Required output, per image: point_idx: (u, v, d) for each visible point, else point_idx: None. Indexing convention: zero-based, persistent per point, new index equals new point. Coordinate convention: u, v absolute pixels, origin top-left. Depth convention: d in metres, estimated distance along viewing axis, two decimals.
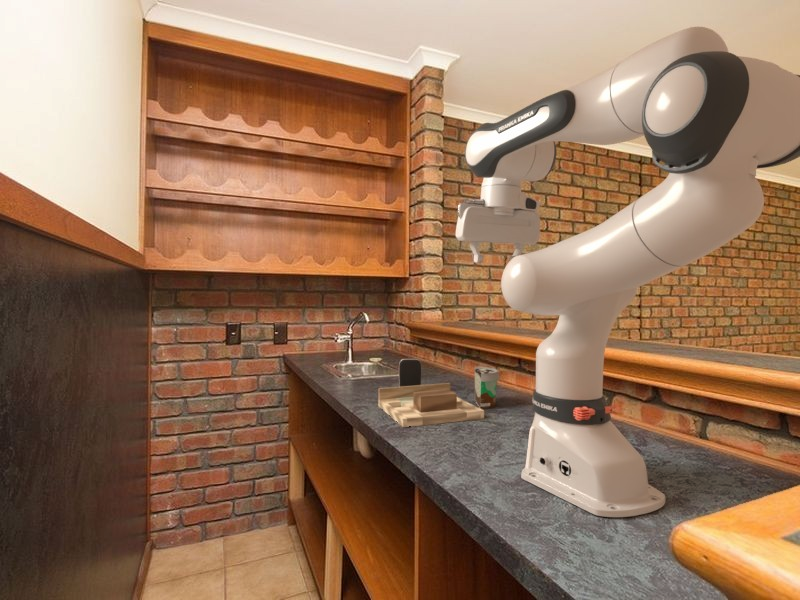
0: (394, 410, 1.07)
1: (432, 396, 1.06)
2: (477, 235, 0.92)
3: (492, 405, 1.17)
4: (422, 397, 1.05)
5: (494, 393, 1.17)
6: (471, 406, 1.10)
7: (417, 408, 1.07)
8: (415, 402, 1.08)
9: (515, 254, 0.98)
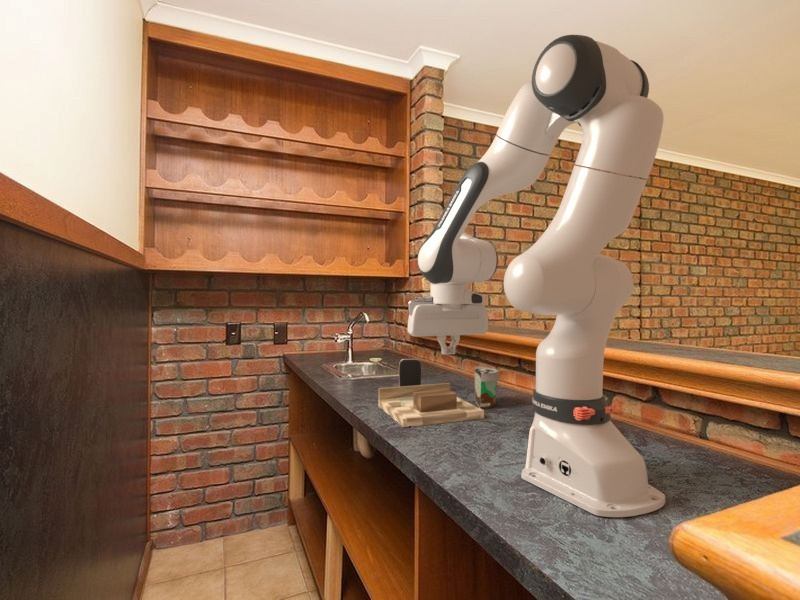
0: (394, 410, 1.07)
1: (432, 396, 1.06)
2: (426, 331, 0.98)
3: (492, 405, 1.17)
4: (422, 397, 1.05)
5: (494, 393, 1.17)
6: (471, 406, 1.10)
7: (417, 408, 1.07)
8: (415, 402, 1.08)
9: (452, 345, 1.02)
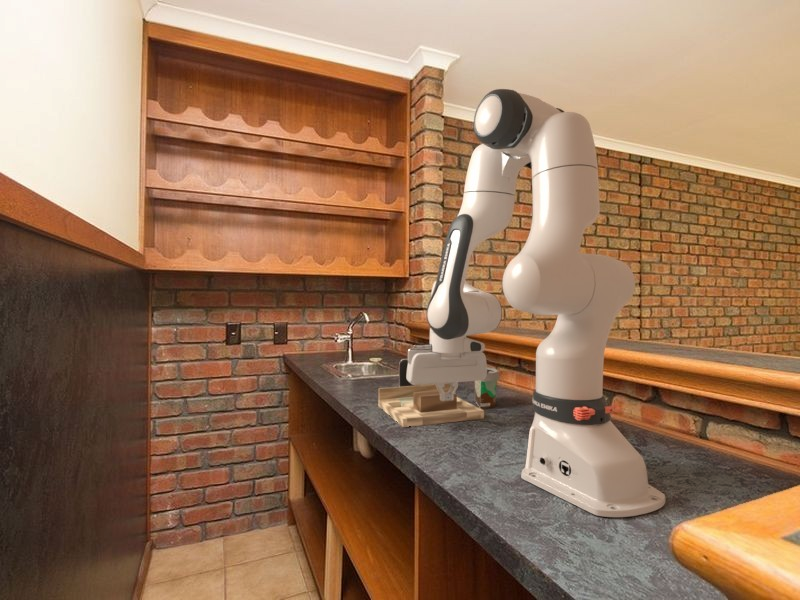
0: (394, 410, 1.07)
1: (432, 396, 1.06)
2: (425, 379, 0.98)
3: (492, 405, 1.17)
4: (422, 397, 1.05)
5: (494, 393, 1.17)
6: (471, 406, 1.10)
7: (417, 408, 1.07)
8: (415, 402, 1.08)
9: (450, 391, 1.03)
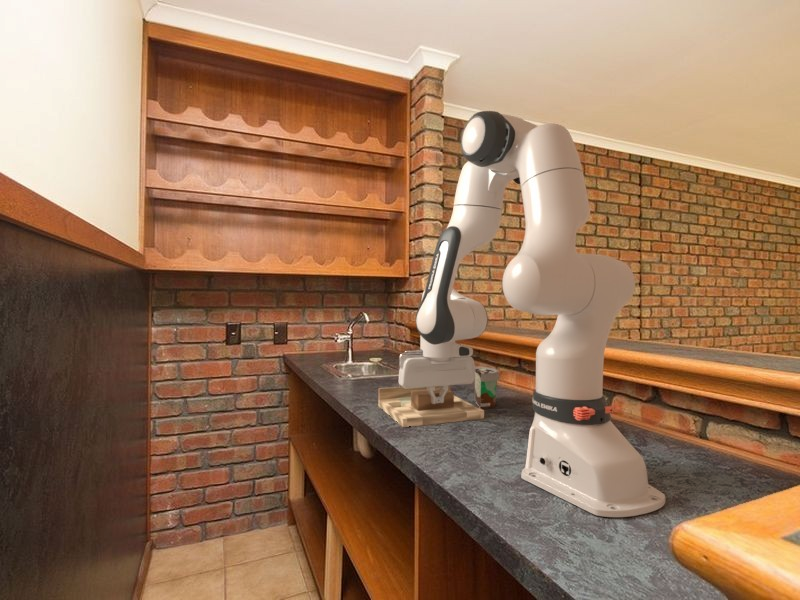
0: (394, 410, 1.07)
1: (429, 394, 1.07)
2: (416, 383, 1.03)
3: (492, 405, 1.17)
4: (419, 395, 1.07)
5: (494, 393, 1.17)
6: (471, 406, 1.10)
7: (415, 406, 1.08)
8: (412, 400, 1.10)
9: (440, 394, 1.08)
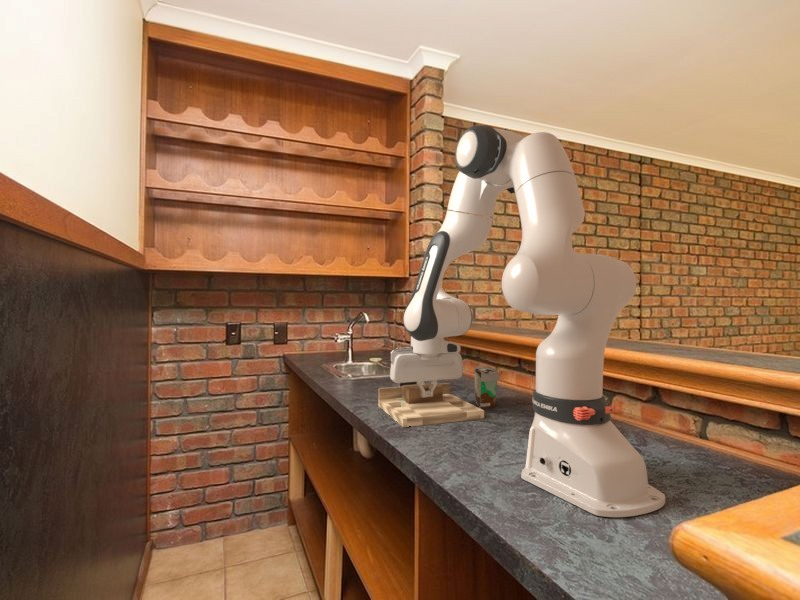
0: (394, 410, 1.07)
1: (419, 389, 1.14)
2: (406, 377, 1.10)
3: (492, 405, 1.17)
4: (410, 390, 1.13)
5: (494, 393, 1.17)
6: (471, 406, 1.10)
7: (406, 400, 1.15)
8: (403, 394, 1.16)
9: (430, 388, 1.14)
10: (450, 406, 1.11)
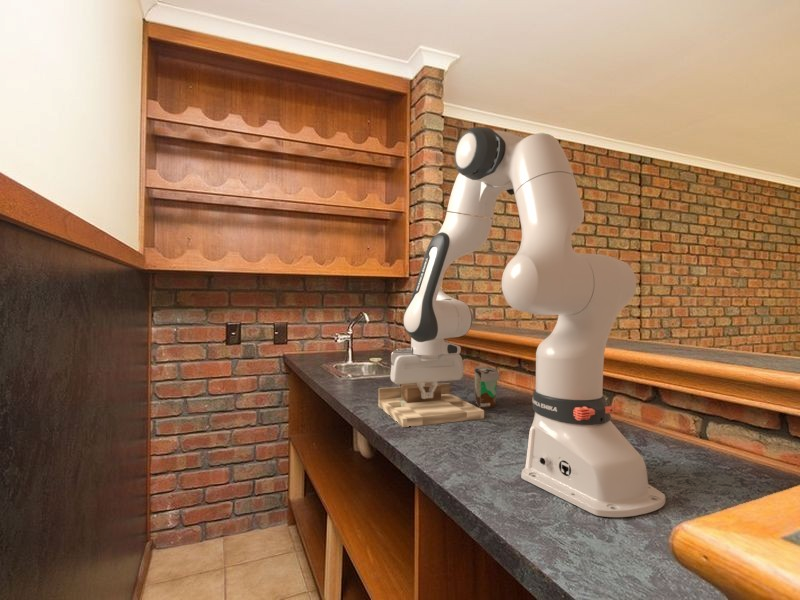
0: (394, 410, 1.07)
1: (418, 388, 1.15)
2: (407, 379, 1.10)
3: (492, 405, 1.17)
4: (409, 389, 1.14)
5: (494, 393, 1.17)
6: (471, 406, 1.10)
7: (404, 399, 1.16)
8: (402, 393, 1.17)
9: (430, 390, 1.14)
10: (450, 406, 1.11)
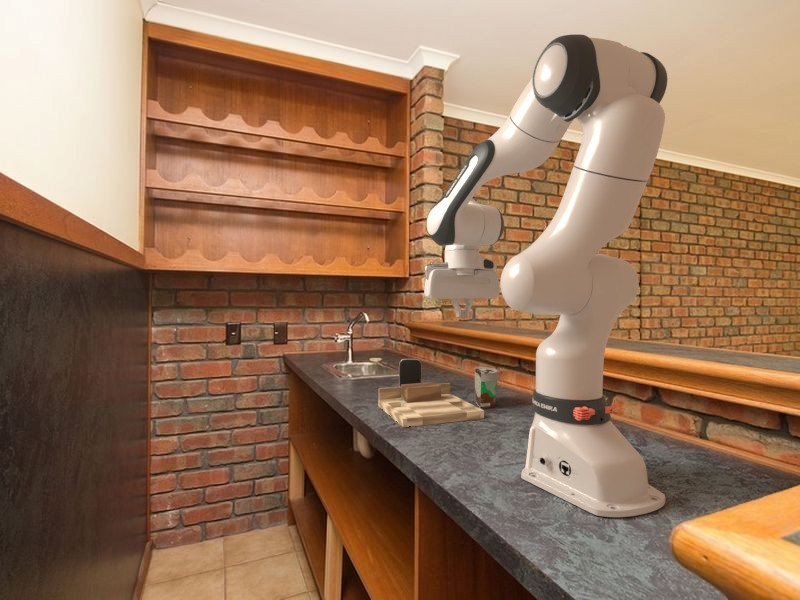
0: (394, 410, 1.07)
1: (418, 388, 1.15)
2: (442, 293, 1.04)
3: (492, 405, 1.17)
4: (409, 389, 1.14)
5: (494, 393, 1.17)
6: (471, 406, 1.10)
7: (404, 399, 1.16)
8: (402, 393, 1.17)
9: (465, 308, 1.08)
10: (450, 406, 1.11)
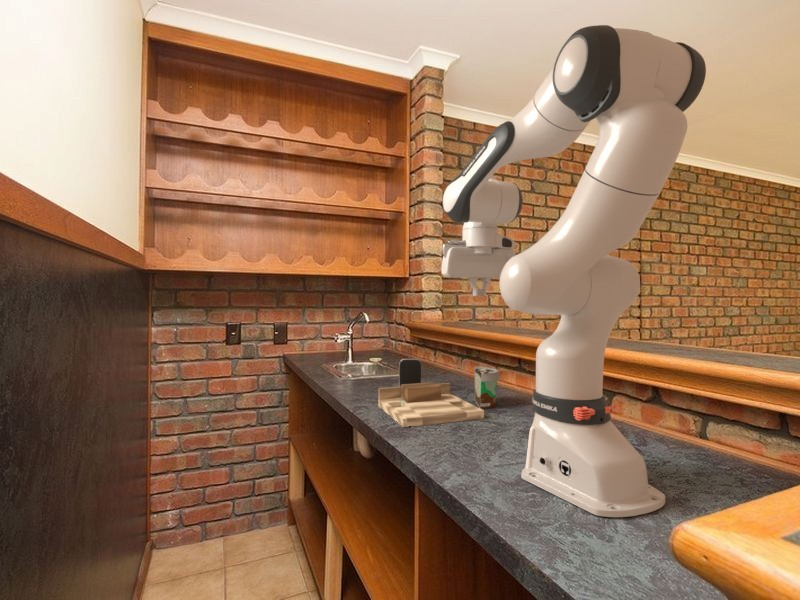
0: (394, 410, 1.07)
1: (418, 388, 1.15)
2: (460, 271, 1.03)
3: (492, 405, 1.17)
4: (409, 389, 1.14)
5: (494, 393, 1.17)
6: (471, 406, 1.10)
7: (404, 399, 1.16)
8: (402, 393, 1.17)
9: (482, 287, 1.07)
10: (450, 406, 1.11)
